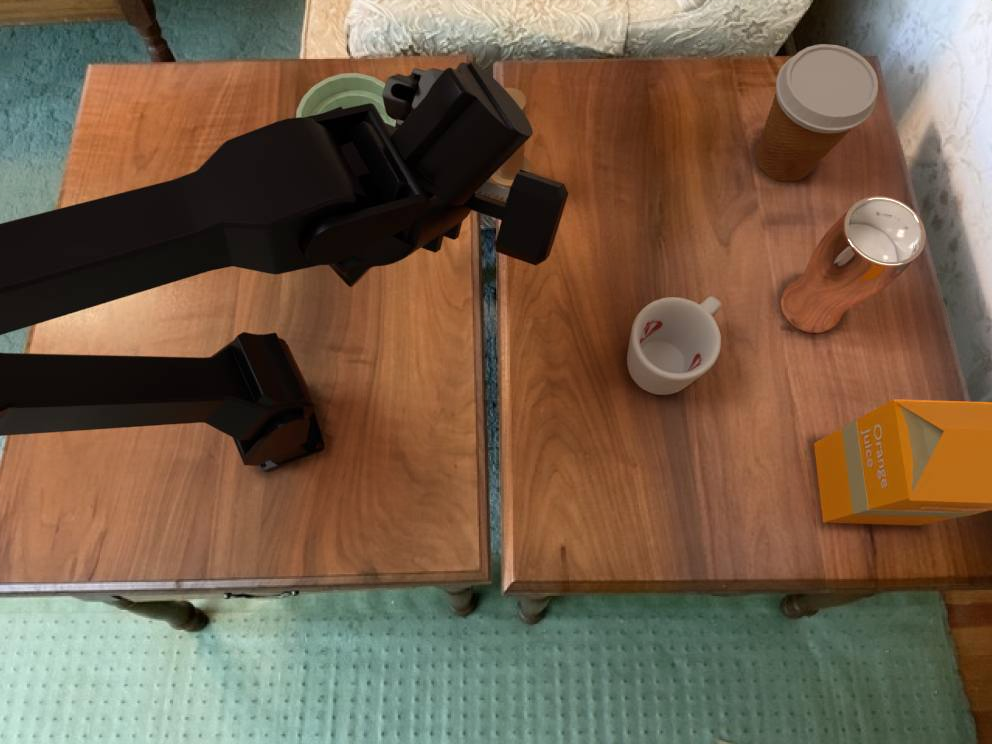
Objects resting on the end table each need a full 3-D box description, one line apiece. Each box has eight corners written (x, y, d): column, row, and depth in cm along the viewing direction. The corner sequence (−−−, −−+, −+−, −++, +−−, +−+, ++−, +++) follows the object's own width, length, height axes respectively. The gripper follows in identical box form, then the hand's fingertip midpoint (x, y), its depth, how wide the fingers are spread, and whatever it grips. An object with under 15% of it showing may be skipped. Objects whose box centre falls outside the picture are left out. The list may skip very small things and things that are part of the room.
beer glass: (762, 308, 71) (825, 232, 57) (801, 263, 73) (872, 178, 59) (819, 351, 70) (898, 284, 56) (858, 304, 71) (945, 227, 57)
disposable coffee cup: (730, 178, 76) (769, 102, 65) (754, 111, 79) (795, 28, 68) (816, 206, 75) (870, 134, 64) (837, 138, 78) (893, 57, 67)
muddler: (535, 199, 76) (541, 112, 63) (497, 211, 76) (495, 126, 62) (520, 167, 77) (523, 75, 64) (483, 179, 77) (478, 89, 64)
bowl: (418, 166, 78) (413, 140, 73) (322, 196, 77) (311, 172, 72) (389, 90, 81) (382, 61, 77) (296, 118, 80) (284, 90, 76)
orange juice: (813, 441, 67) (933, 374, 48) (906, 444, 66) (1064, 378, 48) (822, 524, 64) (954, 488, 45) (919, 527, 64) (1092, 492, 45)
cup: (672, 297, 72) (692, 260, 64) (733, 348, 70) (760, 316, 62) (601, 366, 70) (613, 336, 62) (662, 421, 68) (681, 397, 60)
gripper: (571, 127, 43) (605, 112, 56) (300, 41, 45) (396, 46, 59) (522, 292, 48) (564, 241, 61) (281, 206, 50) (373, 176, 64)
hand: (475, 174), depth 61 cm, fingers open, 9 cm apart
